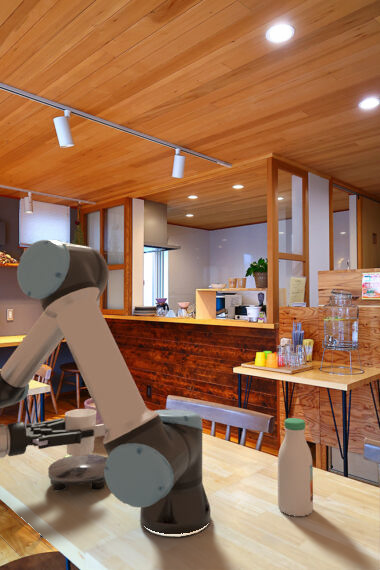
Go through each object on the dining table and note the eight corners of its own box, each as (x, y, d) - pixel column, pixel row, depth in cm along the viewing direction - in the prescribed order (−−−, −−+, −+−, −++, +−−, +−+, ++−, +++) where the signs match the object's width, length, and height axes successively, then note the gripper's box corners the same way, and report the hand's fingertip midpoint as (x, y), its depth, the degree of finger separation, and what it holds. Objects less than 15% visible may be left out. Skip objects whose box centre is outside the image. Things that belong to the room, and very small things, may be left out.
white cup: (87, 458, 109) (88, 417, 109) (58, 455, 110) (59, 415, 110) (100, 447, 116) (101, 409, 117) (73, 445, 118) (73, 408, 118)
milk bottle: (307, 521, 94) (306, 427, 94) (272, 512, 98) (272, 421, 98) (317, 506, 100) (316, 418, 101) (284, 498, 104) (284, 413, 105)
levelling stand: (122, 487, 111) (122, 469, 111) (58, 503, 102) (59, 483, 102) (97, 464, 125) (97, 449, 125) (39, 477, 116) (39, 460, 117)
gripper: (-2, 443, 112) (85, 429, 125) (15, 470, 95) (113, 451, 107) (-1, 414, 112) (85, 402, 125) (16, 436, 95) (114, 420, 108)
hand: (98, 425), depth 116 cm, fingers closed on white cup, 7 cm apart
